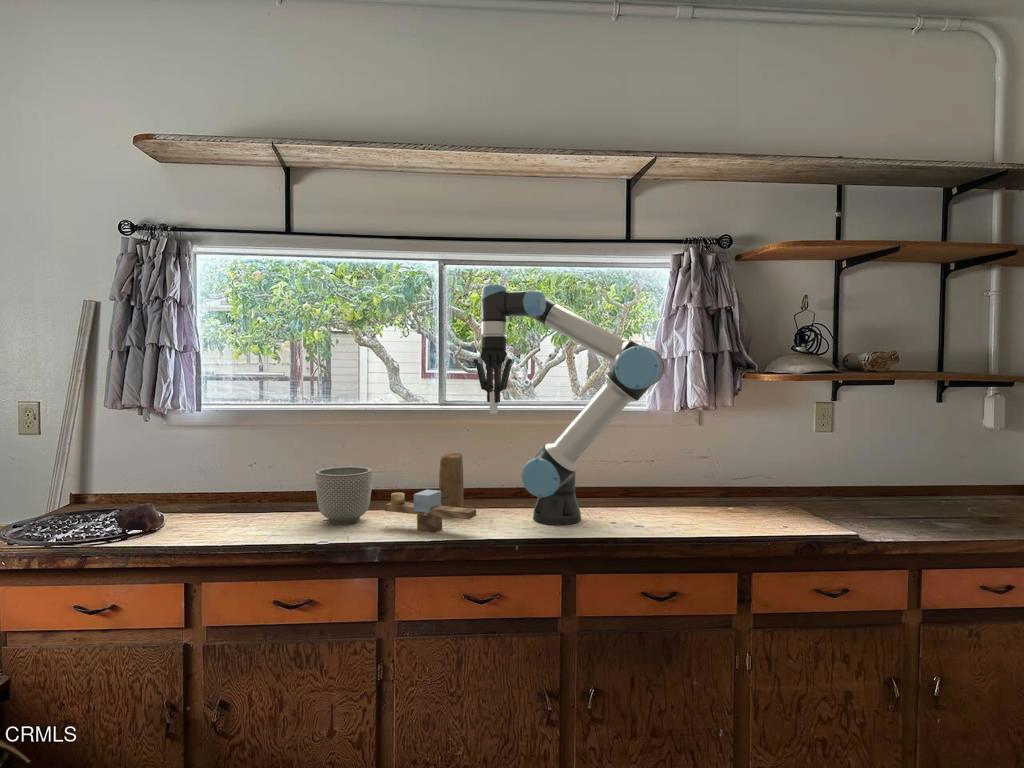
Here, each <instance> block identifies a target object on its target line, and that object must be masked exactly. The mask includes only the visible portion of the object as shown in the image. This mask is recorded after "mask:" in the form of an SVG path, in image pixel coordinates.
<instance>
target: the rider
mask: <svg viewBox="0 0 1024 768" xmlns="http://www.w3.org/2000/svg"><path fill="white" fill-rule="evenodd" d="M413 503H414V511H417V512H426V513H429V512H430V509H431V508H433V507H435V506H438V505H439V506H441V491H439V489H438V490H437V489H425V490H421V491H419V492H416V493H414V494H413Z"/></svg>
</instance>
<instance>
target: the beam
mask: <svg viewBox="0 0 1024 768" xmlns="http://www.w3.org/2000/svg"><path fill="white" fill-rule="evenodd" d="M405 495H406V494H405V493H404V492H400V491H399V492H392V493H391V494H390V496H391V497H390V498H391V499H390V500H391V501H390V502H388V503H386V504H384V512H390V513H401V514H410V515H416V525H417V526H416V527H417V529H416V530H417V532H422V533H423V532H424V533H430V534H431V533H432V534H433V533H434V534H435V533H438V532H439V531H441V530H443V518H446V519H447V518H449V519H459V520H471V519H473V518H474V517H477V508H468V507H463V508H460V507H449V506H439V505H438V506H435V507H433V508H431V509H430V512H429V513H426V512H417V511H414V502H408V501H407V502H406V500H405V499H406V498H405V497H406V496H405Z"/></svg>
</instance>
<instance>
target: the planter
mask: <svg viewBox="0 0 1024 768" xmlns="http://www.w3.org/2000/svg"><path fill="white" fill-rule="evenodd" d="M314 479H315V480H314V482H315V491H316V492H315V493H316V502H317V506H318V511H319V512H320V514H321V515H322V516H323V517H324V518H326V519H328V521H329V523H331V524H333V525H336V526H337V525H341V526H343V525H344V524H345V525H350V524H351V525H352V524H354V523H355V524H356V523H357V522H358V521H360V518H361V517H362V516H363V515H366V513H367V511H368V510H369V507H370V503H371V495H372V483H373V482H372V481H373V471H372V469H371V468H369V467H364V466H352V465H351V466H333V467H326V468H321V469H318V470H316V471H315V475H314Z"/></svg>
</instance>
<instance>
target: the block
mask: <svg viewBox="0 0 1024 768" xmlns="http://www.w3.org/2000/svg"><path fill="white" fill-rule="evenodd" d="M438 473H439V476H438V477H439V478H438V483H439V484H438V491H441V506H449V507H460V508H464V490H465V489H464V463H463V455H462V453H460V452H454V453H453V452H451V453H447V452H446V453H444V454H443V455H442V456H441V458H440V463H439V472H438Z"/></svg>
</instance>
